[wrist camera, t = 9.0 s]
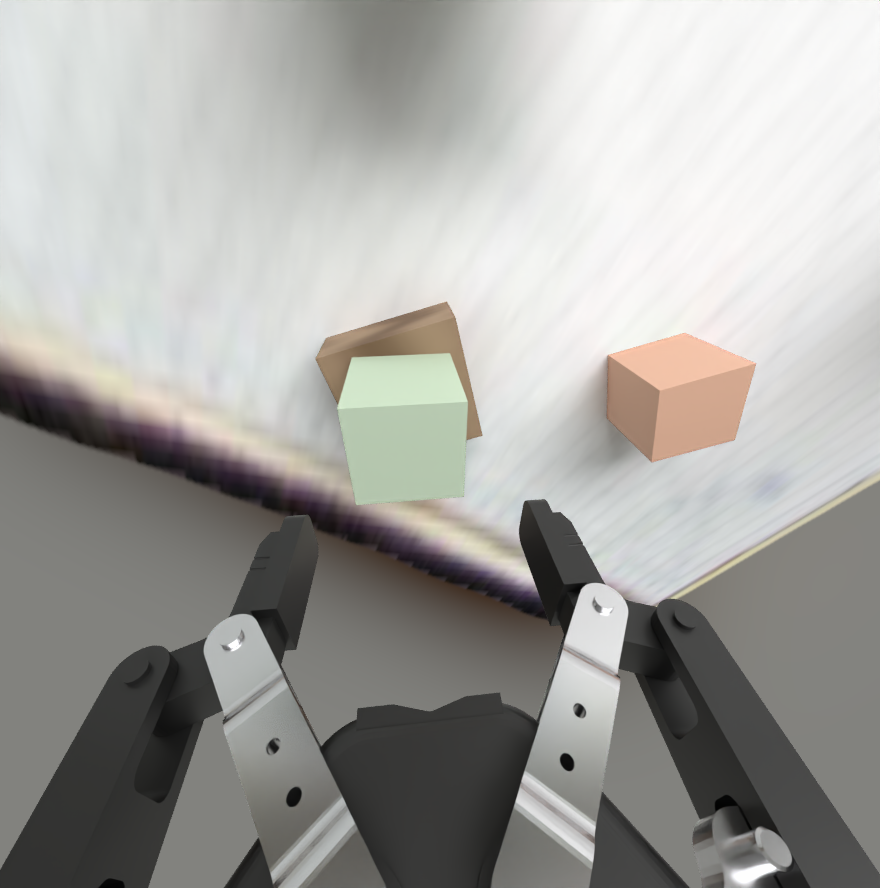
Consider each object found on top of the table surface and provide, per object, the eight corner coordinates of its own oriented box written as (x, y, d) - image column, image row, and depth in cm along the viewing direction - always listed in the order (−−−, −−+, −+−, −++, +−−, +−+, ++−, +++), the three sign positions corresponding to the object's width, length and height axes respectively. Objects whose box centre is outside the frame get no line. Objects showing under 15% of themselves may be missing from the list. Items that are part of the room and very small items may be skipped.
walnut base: (446, 300, 22) (455, 316, 19) (471, 407, 27) (482, 435, 23) (326, 336, 22) (315, 358, 19) (371, 435, 27) (368, 467, 24)
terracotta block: (684, 332, 25) (756, 363, 20) (674, 398, 28) (734, 439, 23) (607, 354, 25) (659, 390, 20) (606, 417, 28) (651, 462, 23)
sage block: (449, 353, 20) (468, 401, 15) (449, 434, 23) (463, 496, 18) (351, 357, 19) (337, 409, 14) (364, 439, 22) (355, 505, 18)
